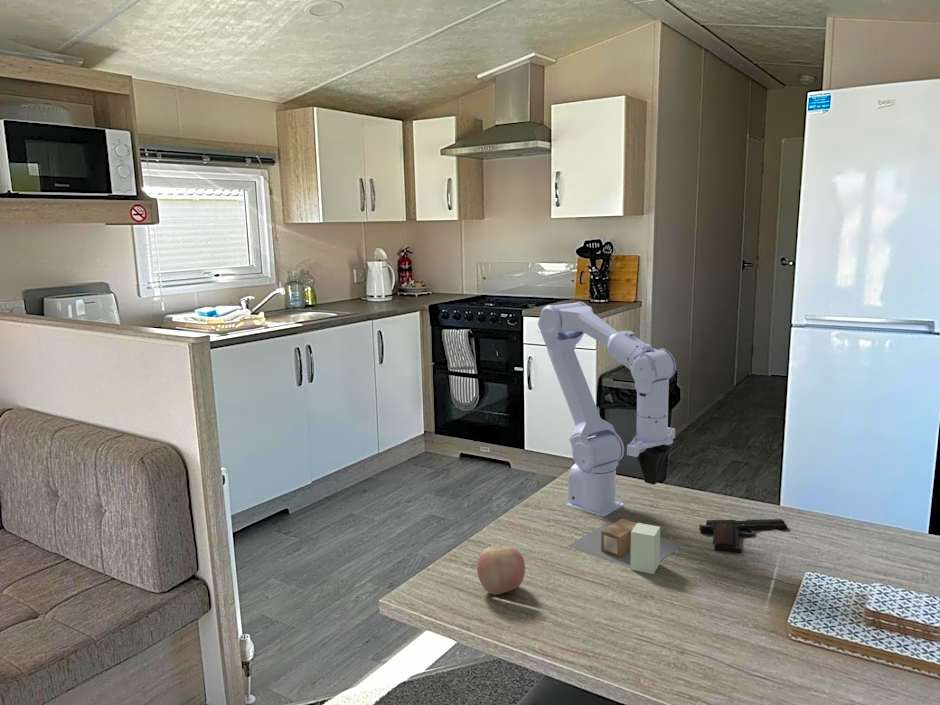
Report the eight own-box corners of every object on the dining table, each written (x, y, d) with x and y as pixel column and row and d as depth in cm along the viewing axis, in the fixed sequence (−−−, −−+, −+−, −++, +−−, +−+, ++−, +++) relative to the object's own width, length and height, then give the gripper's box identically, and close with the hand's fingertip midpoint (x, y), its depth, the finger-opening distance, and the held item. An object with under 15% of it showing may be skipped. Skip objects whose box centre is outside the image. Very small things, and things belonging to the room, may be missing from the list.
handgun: (812, 546, 130) (780, 516, 141) (718, 547, 128) (694, 517, 140) (811, 558, 130) (779, 527, 142) (717, 559, 129) (693, 528, 141)
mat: (567, 547, 134) (567, 545, 134) (609, 523, 144) (609, 521, 144) (644, 575, 123) (644, 572, 123) (683, 546, 133) (683, 544, 133)
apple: (530, 584, 122) (529, 540, 120) (517, 607, 115) (516, 561, 113) (485, 577, 124) (484, 534, 123) (470, 600, 117) (469, 554, 116)
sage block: (630, 569, 125) (630, 531, 123) (636, 559, 128) (637, 522, 127) (653, 574, 123) (654, 536, 121) (659, 564, 126) (660, 526, 125)
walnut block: (621, 538, 136) (601, 551, 131) (622, 518, 136) (601, 531, 131) (640, 544, 134) (620, 558, 129) (640, 524, 133) (620, 537, 128)
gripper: (651, 427, 128) (650, 499, 130) (690, 409, 138) (688, 476, 141) (617, 420, 133) (616, 489, 135) (657, 403, 143) (655, 468, 145)
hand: (651, 482), depth 138 cm, fingers closed
